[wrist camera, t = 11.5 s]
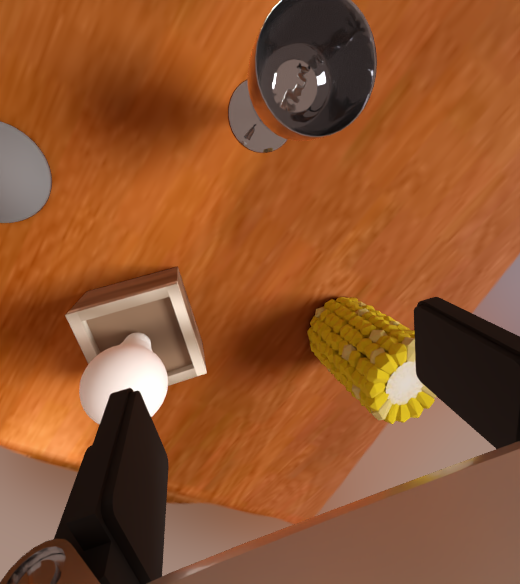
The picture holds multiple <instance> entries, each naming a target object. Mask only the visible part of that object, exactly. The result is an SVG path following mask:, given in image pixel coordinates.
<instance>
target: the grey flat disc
mask: <svg viewBox="0 0 520 584" xmlns="http://www.w3.org/2000/svg"><path fill="white" fill-rule="evenodd" d="M51 187H52V177H51V171H50V167H49V165H48V162H47V160H46V158H45V156H44V154H43V153H42V151H41V150H40V148H39V147H38V146H37V145H36V143H35V142H34V141H33V140H32V139H30V138H29V137H28V136H27V135H26V134H24V133H23V132H21V131H20V130H18V129H17V128H15V127H13V126H11V125H8V124H6V123H3V122H0V223H11V222H17V221H21V220H24V219H27V218H29V217H32V216H33V215H35V214H36V213H37V212H39V211H40V210H41V209H42V208H43V206H44V205H45V204H46V202H47V200H48V198H49V196H50V192H51Z"/></svg>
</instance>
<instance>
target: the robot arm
mask: <svg viewBox="0 0 520 584" xmlns="http://www.w3.org/2000/svg"><path fill="white" fill-rule="evenodd" d="M414 330H415V363H416V375H417V377H418V379H419V380H420V382H421V383H422V384H424V385H425V386H426V387H427V388H428V389H429V390H430V391H431V392H433V393H434V394H435V395H436V396H437V397H438V398H439V399H441V400H442V401H443V402H444V403H445V404H446V405H447V406H449V407H450V408H451V409H452V410H453V411H454V412H455V413H456V414H458V415H459V416H460V417H461V418H462V419H463V420H464V421H466V422H467V423H468V424H469V425H470V426H471V427H472V428H474V429H475V430H476V431H477V432H478V433H479V434H481V436H483V437H484V438H485V439H486V440H487V441H489V443H491V444H492V445H493V446H494V447H495V448H496V450H494V451H491V452H488V453H485V454H482V455H480V456H477V457H474V458H471V459H469V460H466V461H463V462H460V463H458V464H455V465H452V466H450V467H447V468H444V469H441V470H439V471H436V472H433V473H431V474H428V475H425V476H423V477H420V478H417V479H414V480H412V481H409V482H406V483H404V484H401V485H398V486H395V487H393V488H390V489H388V490H385V491H382V492H379V493H377V494H374V495H371V496H369V497H366V498H364V499H361V500H358V501H355V502H353V503H350V504H347V505H345V506H342V507H339V508H337V509H334V510H331V511H329V512H326V513H323V514H321V515H318V516H315V517H313V518H310V519H307V520H305V521H302V522H300V523H297V524H294V525H292V526H289V527H286V528H284V529H281V530H279V531H276V532H273V533H271V534H268V535H265V536H263V537H260V538H257V539H255V540H252V541H249V542H247V543H244V544H242V545H239V546H236V547H234V548H231V549H229V550H226V551H224V552H221V553H219V554H216V555H214V556H211V557H209V558H206V559H204V560H201V561H199V562H196V563H194V564H191V565H189V566H186V567H184V568H181V569H179V570H176V571H174V572H171V573H169V574H167V575H165V576H162V565H163V548H164V547H163V546H164V531H165V514H166V498H167V481H168V458H167V454H166V452H165V449H164V447H163V444H162V442H161V440H160V437H159V435H158V433H157V430H156V428H155V426H154V423H153V421H152V419H151V416H150V414H149V412H148V409H147V407H146V405H145V402H144V400H143V397H142V395H141V393H140V392H139V391H138V390H137V391H133V390H132V388H127V389H124V390H121V391H117V392H114V393H111V394H110V396H109V399H108V402H107V405H106V408H105V411H104V414H103V416H102V419H101V422H100V425H99V428H98V431H97V434H96V437H95V440H94V442H93V445H92V446H90V447H89V448H88V449H87V450H86V452H85V455H84V458H83V460H82V463H81V466H80V469H79V471H78V474H77V477H76V480H75V482H74V485H73V488H72V491H71V493H70V496H69V499H68V502H67V504H66V507H65V510H64V513H63V516H62V518H61V521H60V524H59V527H58V529H57V532H56V535H55V538H54V539H53V540H49V541H46V542H44V543H42V544H40V545H38V546H36V547H34V548H33V549H31V550H30V551H29V552H28V553H26V554H25V555H24V556H22V557H21V558H20V559H19V560H18V561H17V562H16V563H15V564H14V565H13V566H12V567H11V568H10V570H9V571H8V572H7V574H6V575H5V576H4V578H3V579H2V580H1V582H0V584H520V337H519V336H517V335H515V334H513V333H511V332H509V331H507V330H505V329H503V328H501V327H499V326H496V325H495V324H492V323H490V322H488V321H486V320H484V319H482V318H480V317H478V316H476V315H474V314H472V313H470V312H468V311H466V310H464V309H461V308H459V307H457V306H455V305H453V304H451V303H449V302H447V301H445V300H443V299H441V298H438V297H433V298H430V299H426V300H423V301H420V302H419V303H418V305H417V307H416V308H415V309H414Z"/></svg>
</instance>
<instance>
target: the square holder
mask: <svg viewBox="0 0 520 584" xmlns="http://www.w3.org/2000/svg"><path fill="white" fill-rule="evenodd" d="M65 316H66V318H67V320H68V322H69V324H70V326H71V328H72V331H73V333H74V335H75V337H76V339H77V341H78V343H79V345H80V347H81V349H82V352H83V354H84V356H85V358H86V360H87V362H88V364H89V363H90V362H91V361H92V360H93V359H94V358H95V357H96V356H97V355H99V354H100V353H101V352H103V351H104V350H106V349H108V348H111V347H113V346H117V345H120V344H121V343H122V342H123V341H124V340H125V338H126V337H127V336H128V335H130V334H132V333H143V334H145V335H146V336H148V338H149V339H150V341H151V349H152V352H153V353H155V354H156V355H157V356H158V357H159V358H160V359H161V361H162V363H163V364H164V366H165V369H166V372H167V375H168V386H169V385H172V384H175V383H178V382H181V381H184V380H187V379H190V378H194V377H197V376H200V375H203V374H206V373H207V372H206V365H205V357H204V350H203V343H202V340H201V337H200V334H199V331H198V328H197V325H196V321H195V318H194V315H193V312H192V309H191V306H190V303H189V300H188V297H187V294H186V291H185V288H184V285H183V282H182V278H181V275H180V272H179V269H178V267H175V268H171V269H167V270H164V271H160V272H156V273H153V274H149V275H145V276H142V277H138V278H135V279H131V280H127V281H124V282H120V283H116V284H113V285H109V286H105V287H102V288H98V289H94V290H91V291H87V292H86V293H85V294H84V295H83V296H82V297H81V298H80V299H79V300H78V302H77V303H76V304H75V305H74V306H73V307H72V308H71V309H70V310H69V311H68V313H67V314H66V315H65Z"/></svg>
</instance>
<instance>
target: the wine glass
mask: <svg viewBox="0 0 520 584" xmlns="http://www.w3.org/2000/svg"><path fill="white" fill-rule="evenodd" d="M376 66H377V58H376V47H375V43H374V38H373V35H372V32H371V29H370V27H369V24H368V22H367V21H366V19H365V17H364V15H363V13H362V12H361V11H360V10H359V8H358V7H357V6H356V5H355V4H354V3H353V2H352V1H351V0H281V1H280V2H279V3H278V4H277V5H276V6H275V7H274V8H273V9H272V11H271V12H270V14H269V15H268V17H267V18H266V20H265V21H264V23H263V25H262V27H261V29H260V32H259V34H258V36H257V38H256V41H255V43H254V46H253V49H252V52H251V56H250V60H249V68H248V77H247V80H245V81H244V82H242V83H241V84H240V85H239V86H238V87H237V88H236V90H235V91H234V93H233V95H232V97H231V100H230V104H229V111H228V114H229V122H230V126H231V129H232V132H233V133H234V135H235V137H236V138H237V140H238V141H239V142H240V143H241V144H242V145H243V146H244V147H246V148H248V149H249V150H252V151H254V152H259V153H267V152H272V151H274V150H276V149H278V148H280V147H281V146H282V145H283V144H284V143H285V142H286V141H287V140H288V139H289V140H294V141H310V140H314V139H319V138H324V137H326V136H329V135H332V134H334V133H336V132H339V131H341V130H342V129H344V128H345V127H347V126H348V125H350V124H351V123H352V122H353V121H354V120H355V119H356V118H357V117H358V116H359V114H360V113H361V112H362V110H363V109H364V107H365V105H366V104H367V102H368V100H369V98H370V95H371V92H372V89H373V87H374V82H375V77H376Z"/></svg>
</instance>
